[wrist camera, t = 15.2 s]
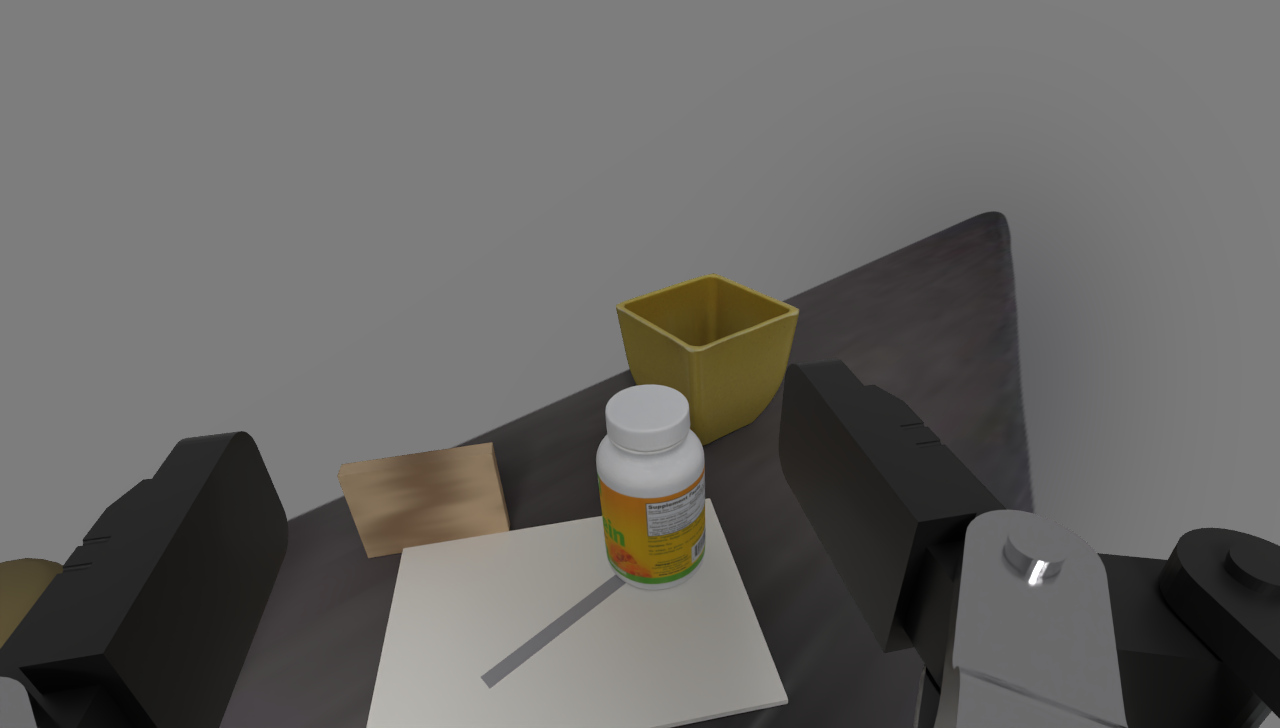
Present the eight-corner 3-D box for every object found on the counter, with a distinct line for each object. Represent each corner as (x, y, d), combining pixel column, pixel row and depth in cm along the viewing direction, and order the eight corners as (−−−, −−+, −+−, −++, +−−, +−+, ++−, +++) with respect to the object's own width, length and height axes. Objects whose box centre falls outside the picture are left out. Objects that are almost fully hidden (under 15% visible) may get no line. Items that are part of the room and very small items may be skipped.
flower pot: (713, 374, 52) (713, 269, 47) (794, 423, 45) (802, 308, 41) (622, 414, 48) (612, 304, 43) (696, 475, 41) (694, 352, 37)
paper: (356, 791, 26) (353, 786, 26) (404, 552, 37) (403, 548, 37) (787, 703, 28) (788, 699, 28) (709, 502, 39) (709, 497, 39)
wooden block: (368, 558, 37) (337, 476, 34) (371, 544, 38) (341, 463, 35) (510, 534, 38) (491, 453, 35) (509, 522, 39) (492, 441, 36)
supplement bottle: (594, 535, 37) (576, 391, 32) (680, 508, 38) (676, 366, 33) (626, 607, 32) (610, 452, 27) (723, 573, 34) (724, 421, 29)
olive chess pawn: (167, 685, 30) (45, 510, 25) (229, 757, 27) (106, 575, 22) (7, 801, 26) (-181, 622, 21) (58, 902, 23) (-147, 722, 18)
